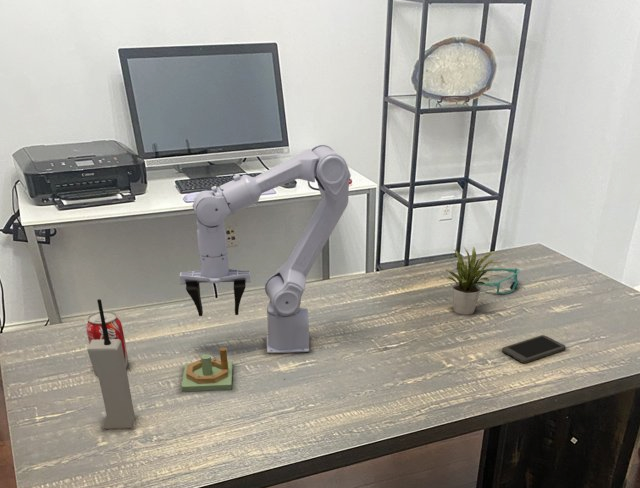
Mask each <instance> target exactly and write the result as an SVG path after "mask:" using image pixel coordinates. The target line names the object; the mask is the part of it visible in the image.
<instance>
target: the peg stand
mask: <svg viewBox="0 0 640 488" xmlns="http://www.w3.org/2000/svg"><path fill="white" fill-rule="evenodd" d="M211 359H212V356H211V354H208V353H207V354H205V353H204V354H202V355H201V356H200V360H201V362H202V367H201V368H199V369H197V370H195V371H193V373H195V374H197V375H199V376H213V375H215V374H217V373H219V372H221V371H222V370H221V369H219V368H217V367H215V366H214V367H212V363H211ZM192 363H193V362H186V363H184V369H183V373H182V374H183V375H182V380H181V385H180V387H181V392H203V391H207V392H208V391H228V390H229V391H230V390H233V374H234V373H233V372H234V371H233V370H234V363H233V361H228V377H226V378H224V379H222V380H221V381H219V382H217V383H208V384H197V383H195V382H193V381H191V380H189V379H187V377H186V371H187V366H188V365H190V364H192Z"/></svg>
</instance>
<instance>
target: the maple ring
mask: <svg viewBox="0 0 640 488" xmlns="http://www.w3.org/2000/svg"><path fill="white" fill-rule="evenodd" d="M219 358H220V359H218V358H211V363H212V367H214V366H215V367H217V368H219V369H221V370H222V371H221V372H219V373H217V374H215V375H213V376H199V375H197V374H195V373H193V371H195V370H197V369H199V368H201V367H202V362H201V359H198V360H196V361H194V362H191V363H192V364H190V365H188V366H187V371H186V377H187V379H189V380H191V381H193V382H195V383H197V384H208V383H217V382H219V381H221V380H222V379H224V378H226V377H228V362H229V361H228V351H227V348H226V347H220V348H219Z"/></svg>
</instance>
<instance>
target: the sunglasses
mask: <svg viewBox="0 0 640 488" xmlns="http://www.w3.org/2000/svg"><path fill="white" fill-rule="evenodd" d="M488 269H492V270H489V271H488V272H501V271H503V272H507V273H513V274H511V275H510V276H507V277H506V278H504V279H501V280H499V281H496V282H484V283H485V285H483V284H476V285H478V286H485V287H486V286H488V287H496V294H498V295H509V294H510V293H513V292H514V290H515V289H518V285H519V280H518V274H519V273H520V271H521V269H520V268H500V267H499V268H496V267H495V268H493V267H491V268H484V269H483V272H484V271H485V270H488ZM483 272H481V273H483ZM511 278H512V284H511V285H510V287H509V289H510V290H509V291H507V292H500V287H501V283H502V282H505V281H507V280H509V279H511Z"/></svg>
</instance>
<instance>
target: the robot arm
mask: <svg viewBox="0 0 640 488" xmlns="http://www.w3.org/2000/svg"><path fill="white" fill-rule="evenodd" d="M351 177H352V174H351V171H350V169H349V166H348V164H347V161H346V159H345V158H344V157H343V156H342V155H341V154H338V153H337V152H336V151H335V150H334V149H332V147H331V146H329V145H327V144H318V145H315V146H313V147H312V148H308V149H304V150H302V151H301V152H299V153H298V154H296V155H294V156H292V157H290V158H288V159H286V160H285V161H283V162H280V163H278V164H277V165H275V166H273V167H271V168H270V169H267V170H265V171H263V172H262V173H260V174H258V175H256V176H250V175H248V174H243V175H240V174H239V173H237V174H235V175H233V176H232V178H233V179H232V180H230V181H228V182H225V183H224V184H222V185H219V186H216V185H214V186H212V187H211V190H203V191H200V192H199V193H197V194H196V196H195V197H194V199H193V203H192V210H193V211H194V213H195V216H196V228H197V230H196V236H197V245H198V246H197V247H198V255H199V256H198V257H199V265H200V269H199V270H192V271H191V270H190V271H184V272H183V271H180V273H179V284H180V285H185V290H186V292H187V293H188V295H189V296H190V298H191V300H192V301H193V304H194V305H195V308H196V310H197V313H198V317H203V312H204V310H203V309H204V308H203V304H202V298H201V287H200V284H201V283H202V284H203V283H204V284H206V283H210V284H220V283H233V295H234V315H235V316H238V315H239V308H240V303H241V300H242V297H243V295H244V293H245V290H246V287H247V286H246V283H247V284H249V283H250V284H251V282H252V281H251V279H252V278H251V270H241V269H230V268H229V258H228V255H229V254H228V244H227V233H226V229H225V220H226V218H227V216H232V215H234V214H236V213H237V212H240V211H242V210H244V209H246V208H248V207H251V206H253V205H256V204H257V203H259V200H260V199H261V195H262V194H264V193H266V192H268V191H271V190H273V189H276V188H279V187H280V186H284V185H286V184H289V183H291V182H293V181H296V180H303V181H306V182H311V183H315V182H316V183H317V187H318V190H319V193H320V196H321V198H320V199H321V200H320V201H319V203H318V205H317V207H316V208H315V209H314V212H313V213H312V216H311V217H310V219H309V221H308V223H307V224H306V226H305V228H304V230H303V232H302V234H301V235H300V237H299V239H298V241H297V243H296V244H295V246H294V248H293V249H292V251H291V253H290V255H289V257H288V259H287V260H286V262H285V263H284V264H282V265H281V266H279V267H278V269H277V270H276V272H275V273H273V274H272V275H270V277H268V279H267V280H266V282H265V284H264V292H265V294H266V296H267V297H268V299H269V302H268V304H267V306H266V320H267V321H266V322H267V336H266V353H267V354H288V353H291V354H293V353H309V352H310V340H311V332H310V317H309V308H306V307H301V304H302V297H303V293H304V292H305V289H306V281H307V276H308V275H309V273H310V272H311V269H312V268H313V267H314V264H315V262H316V261H317V259H318V257H319V256H320V254H321V252H322V251H323V249H324V247H325V245H326V243H327V241H328V240H329V238H330V237H331V235H332V233H333V231H334V230H335V228H336V226H337V225H338V223H339V221H340V219H341V218H342V216H343V214H344V212H345V210H346V209H347V207H348V204H349V192H350V191H349V188H350V179H351Z"/></svg>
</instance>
